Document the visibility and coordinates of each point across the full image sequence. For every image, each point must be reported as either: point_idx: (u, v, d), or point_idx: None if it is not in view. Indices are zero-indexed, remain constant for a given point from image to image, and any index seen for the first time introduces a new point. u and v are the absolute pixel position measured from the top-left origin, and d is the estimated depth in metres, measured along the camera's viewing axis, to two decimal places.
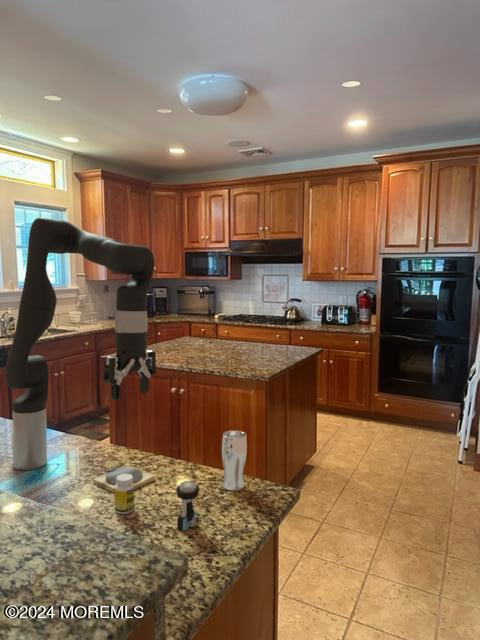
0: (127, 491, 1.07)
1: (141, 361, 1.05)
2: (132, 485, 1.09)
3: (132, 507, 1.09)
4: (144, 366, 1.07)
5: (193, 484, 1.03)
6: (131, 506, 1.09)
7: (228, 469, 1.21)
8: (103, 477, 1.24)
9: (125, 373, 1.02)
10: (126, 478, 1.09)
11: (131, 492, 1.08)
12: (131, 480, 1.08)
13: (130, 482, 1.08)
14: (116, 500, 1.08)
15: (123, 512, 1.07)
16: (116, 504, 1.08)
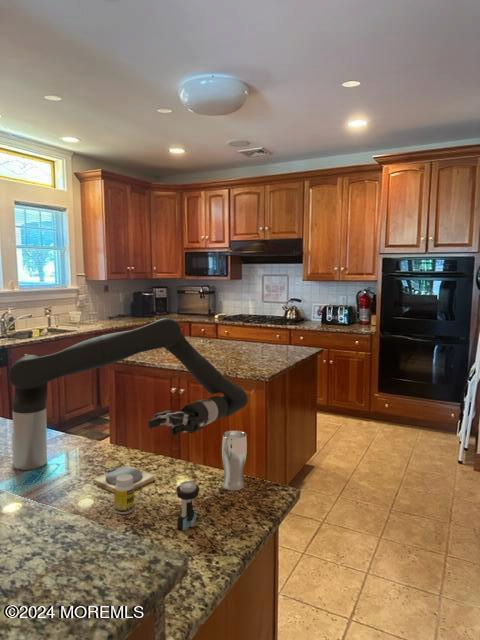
0: (127, 491, 1.07)
1: None
2: (132, 485, 1.09)
3: (132, 507, 1.09)
4: None
5: (193, 484, 1.03)
6: (131, 506, 1.09)
7: (228, 469, 1.21)
8: (103, 477, 1.24)
9: None
10: (126, 478, 1.09)
11: (131, 492, 1.08)
12: (131, 480, 1.08)
13: (130, 482, 1.08)
14: (116, 500, 1.08)
15: (123, 512, 1.07)
16: (116, 504, 1.08)
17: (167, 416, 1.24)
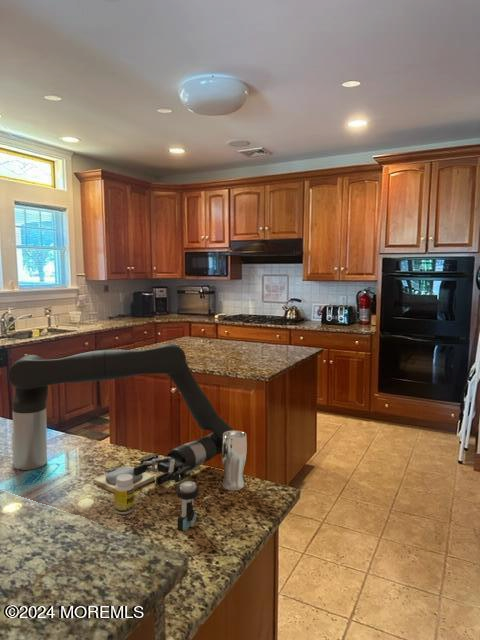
0: (127, 491, 1.07)
1: None
2: (132, 485, 1.09)
3: (132, 507, 1.09)
4: None
5: (193, 484, 1.03)
6: (131, 506, 1.09)
7: (228, 469, 1.21)
8: (103, 477, 1.24)
9: None
10: (126, 478, 1.09)
11: (131, 492, 1.08)
12: (131, 480, 1.08)
13: (130, 482, 1.08)
14: (116, 500, 1.08)
15: (123, 512, 1.07)
16: (116, 504, 1.08)
17: (153, 462, 1.21)
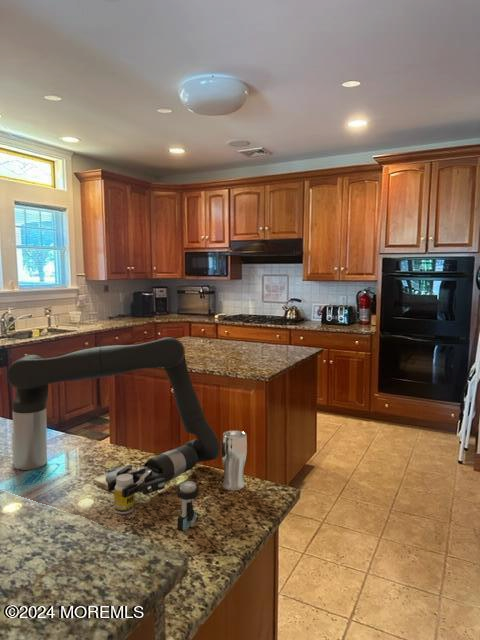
0: None
1: None
2: None
3: (132, 507, 1.09)
4: None
5: (193, 484, 1.03)
6: (131, 506, 1.09)
7: (228, 469, 1.21)
8: (103, 477, 1.24)
9: None
10: (126, 478, 1.09)
11: None
12: (131, 480, 1.08)
13: (130, 482, 1.08)
14: (116, 500, 1.08)
15: (123, 512, 1.07)
16: (116, 504, 1.08)
17: None
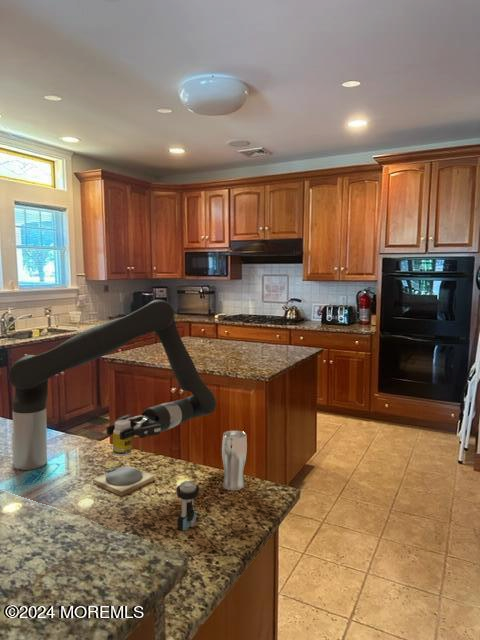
0: None
1: None
2: None
3: (130, 450, 1.15)
4: None
5: (193, 484, 1.03)
6: (129, 449, 1.15)
7: (228, 469, 1.21)
8: (103, 477, 1.24)
9: None
10: (124, 422, 1.15)
11: None
12: (128, 424, 1.15)
13: (127, 426, 1.14)
14: (114, 443, 1.14)
15: (121, 454, 1.14)
16: (114, 447, 1.14)
17: None
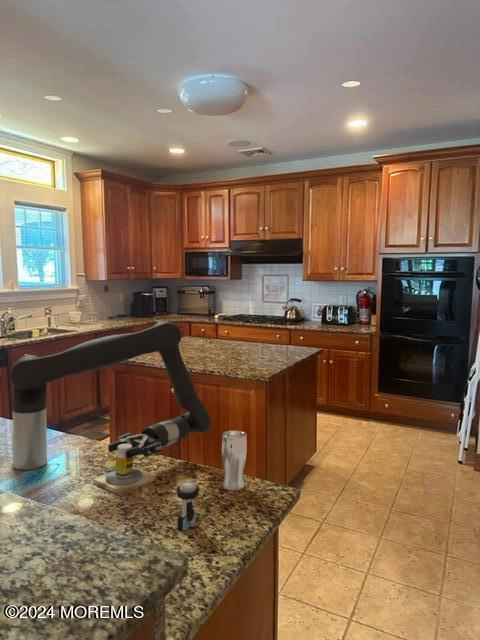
0: (126, 458, 1.22)
1: None
2: None
3: (131, 472, 1.24)
4: None
5: (193, 484, 1.03)
6: (130, 471, 1.24)
7: (228, 469, 1.21)
8: (103, 477, 1.24)
9: None
10: (126, 446, 1.24)
11: (130, 459, 1.23)
12: (130, 448, 1.24)
13: None
14: (117, 466, 1.23)
15: (123, 476, 1.22)
16: (117, 469, 1.23)
17: (128, 439, 1.28)
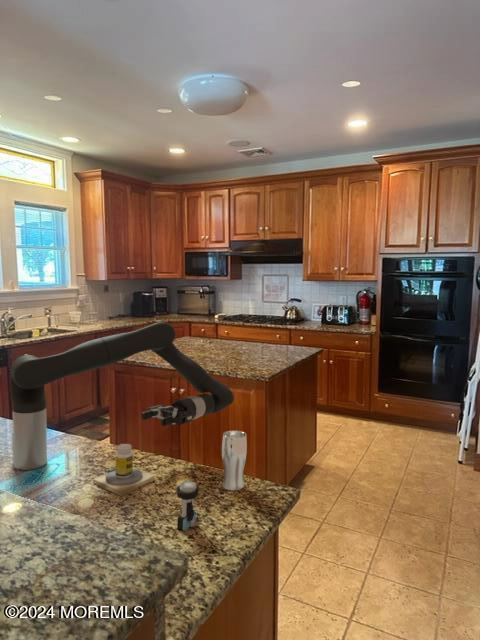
0: (126, 458, 1.22)
1: None
2: (131, 453, 1.24)
3: (131, 472, 1.24)
4: None
5: (193, 484, 1.03)
6: (130, 471, 1.24)
7: (228, 469, 1.21)
8: (103, 477, 1.24)
9: None
10: (126, 446, 1.24)
11: (129, 459, 1.23)
12: (130, 448, 1.23)
13: (129, 450, 1.23)
14: (117, 466, 1.23)
15: (123, 476, 1.22)
16: (117, 469, 1.23)
17: (159, 409, 1.38)
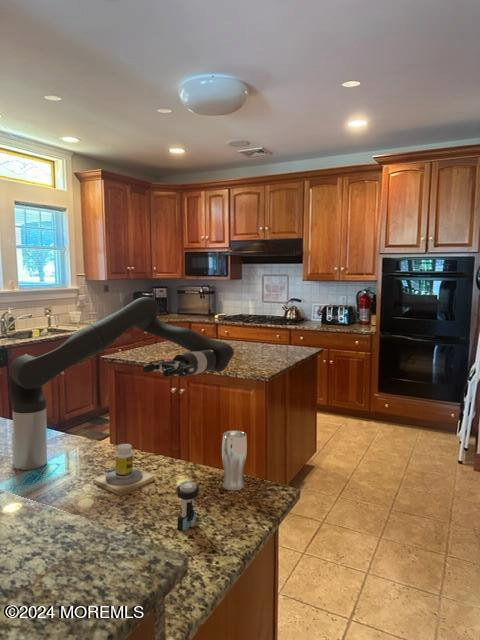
0: (126, 458, 1.22)
1: None
2: (131, 453, 1.24)
3: (131, 472, 1.24)
4: None
5: (193, 484, 1.03)
6: (130, 471, 1.24)
7: (228, 469, 1.21)
8: (103, 477, 1.24)
9: None
10: (126, 447, 1.24)
11: (130, 459, 1.23)
12: (130, 449, 1.23)
13: (129, 450, 1.23)
14: (117, 466, 1.23)
15: (123, 476, 1.22)
16: (117, 469, 1.23)
17: (160, 363, 1.37)
